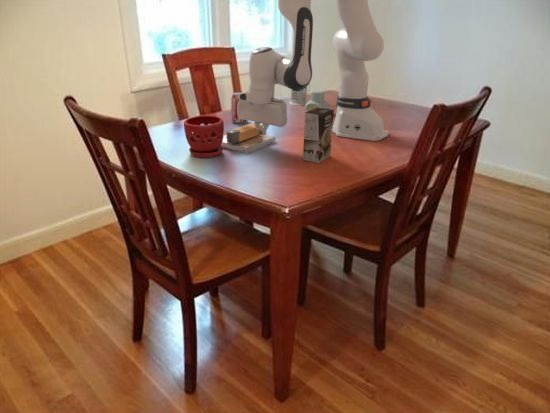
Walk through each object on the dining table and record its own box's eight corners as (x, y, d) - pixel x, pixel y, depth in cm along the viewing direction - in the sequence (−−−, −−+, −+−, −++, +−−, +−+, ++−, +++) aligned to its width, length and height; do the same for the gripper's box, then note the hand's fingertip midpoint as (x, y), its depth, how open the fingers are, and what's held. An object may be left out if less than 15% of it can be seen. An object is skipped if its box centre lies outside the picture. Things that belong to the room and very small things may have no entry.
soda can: (245, 124, 189) (245, 95, 184) (229, 123, 190) (228, 94, 185) (250, 120, 195) (249, 92, 190) (234, 119, 197) (233, 91, 191)
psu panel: (275, 141, 168) (275, 136, 167) (247, 153, 155) (246, 147, 154) (242, 134, 176) (242, 129, 175) (212, 144, 164) (212, 139, 163)
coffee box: (319, 163, 147) (322, 115, 140) (302, 159, 150) (304, 112, 143) (331, 156, 154) (334, 109, 147) (314, 152, 157) (317, 106, 150)
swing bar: (262, 133, 169) (262, 124, 168) (234, 143, 157) (234, 134, 156) (252, 130, 172) (252, 122, 170) (223, 141, 160) (223, 132, 158)
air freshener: (331, 112, 209) (332, 91, 205) (323, 116, 203) (324, 94, 199) (310, 109, 214) (311, 88, 210) (302, 113, 208) (302, 91, 204)
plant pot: (202, 145, 163) (200, 112, 158) (232, 152, 157) (231, 118, 152) (178, 155, 153) (175, 120, 147) (208, 162, 147) (206, 126, 141)
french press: (299, 100, 233) (300, 49, 222) (314, 104, 225) (317, 51, 214) (284, 102, 228) (285, 50, 217) (300, 106, 220) (302, 53, 209)
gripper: (291, 98, 156) (290, 137, 162) (245, 91, 166) (245, 127, 172) (281, 102, 151) (280, 141, 157) (234, 94, 161) (234, 131, 167)
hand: (261, 134), depth 165 cm, fingers closed
